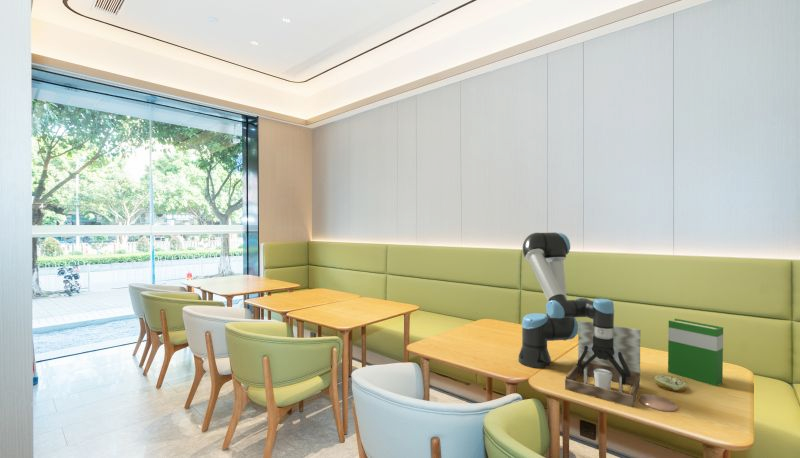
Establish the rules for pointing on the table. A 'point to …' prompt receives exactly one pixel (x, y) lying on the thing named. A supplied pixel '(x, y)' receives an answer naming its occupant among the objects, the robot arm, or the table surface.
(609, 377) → the shot glass
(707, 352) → the hardback book
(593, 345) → the robot arm
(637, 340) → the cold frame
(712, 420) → the table surface
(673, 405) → the terracotta saucer
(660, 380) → the decorated donut
